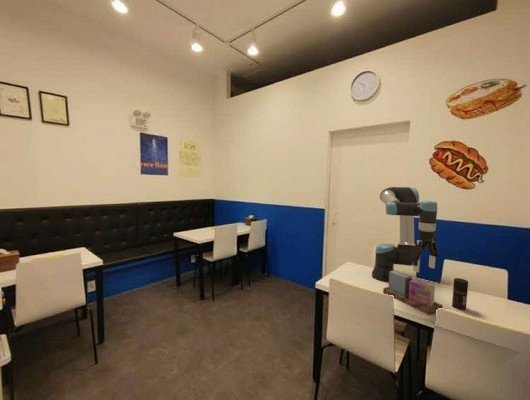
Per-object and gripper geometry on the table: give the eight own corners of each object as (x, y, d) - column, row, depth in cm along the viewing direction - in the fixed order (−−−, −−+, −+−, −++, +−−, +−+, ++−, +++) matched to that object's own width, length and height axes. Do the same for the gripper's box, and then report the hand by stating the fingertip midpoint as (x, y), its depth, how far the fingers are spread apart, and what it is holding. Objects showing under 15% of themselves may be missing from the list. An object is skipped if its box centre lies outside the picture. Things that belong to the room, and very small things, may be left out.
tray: (383, 292, 148) (383, 288, 148) (395, 289, 153) (395, 285, 153) (429, 315, 124) (430, 309, 124) (442, 310, 129) (442, 305, 129)
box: (408, 301, 135) (409, 281, 134) (412, 298, 139) (413, 278, 138) (430, 309, 127) (431, 287, 126) (433, 306, 131) (435, 284, 130)
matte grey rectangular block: (388, 291, 148) (389, 271, 147) (395, 289, 151) (396, 270, 150) (405, 298, 139) (406, 278, 138) (411, 296, 141) (413, 276, 140)
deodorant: (461, 311, 129) (464, 283, 127) (449, 305, 134) (451, 279, 133) (468, 309, 131) (470, 281, 130) (456, 303, 136) (458, 277, 135)
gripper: (419, 234, 121) (416, 275, 123) (448, 229, 132) (445, 268, 134) (404, 230, 128) (402, 270, 130) (433, 227, 139) (430, 263, 141)
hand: (423, 269), depth 132 cm, fingers open, 13 cm apart
